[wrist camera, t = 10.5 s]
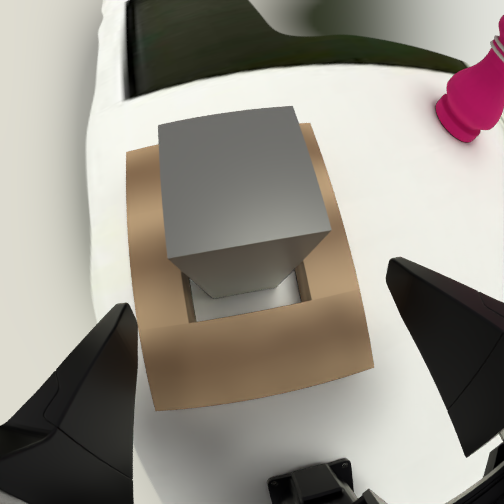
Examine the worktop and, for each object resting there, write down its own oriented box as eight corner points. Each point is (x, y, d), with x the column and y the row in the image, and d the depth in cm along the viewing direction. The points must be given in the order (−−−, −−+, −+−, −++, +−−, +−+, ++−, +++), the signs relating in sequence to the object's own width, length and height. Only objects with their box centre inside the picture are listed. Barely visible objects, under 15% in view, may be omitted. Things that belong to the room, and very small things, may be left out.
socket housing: (357, 362, 19) (374, 367, 16) (166, 399, 18) (155, 411, 15) (302, 144, 23) (309, 122, 20) (138, 171, 22) (126, 152, 19)
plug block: (276, 287, 21) (331, 230, 8) (213, 298, 20) (167, 258, 8) (264, 226, 22) (292, 105, 9) (203, 237, 21) (158, 125, 9)
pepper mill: (452, 148, 25) (559, 35, 5) (421, 98, 26) (499, -22, 7) (484, 145, 25) (576, 54, 6) (455, 99, 27) (529, 2, 7)
